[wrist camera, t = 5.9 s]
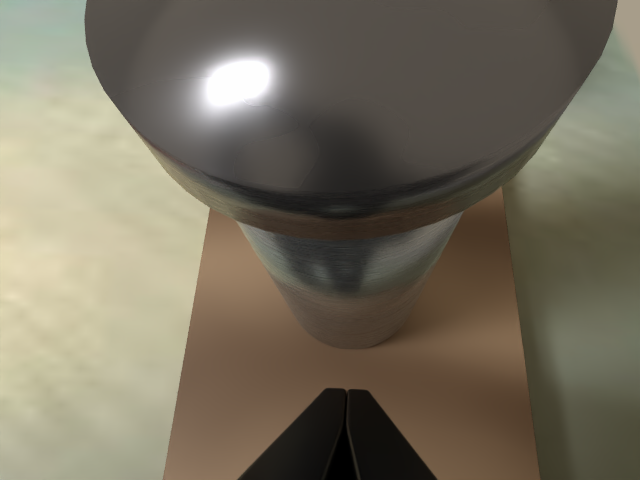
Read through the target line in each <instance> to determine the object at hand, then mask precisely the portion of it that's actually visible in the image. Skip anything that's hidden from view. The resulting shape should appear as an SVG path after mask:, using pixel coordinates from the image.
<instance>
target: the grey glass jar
mask: <svg viewBox="0 0 640 480" xmlns="http://www.w3.org/2000/svg"><path fill="white" fill-rule="evenodd" d="M616 7H617V0H87V3H86V11H85V35H86V45H87V48H88V52H89V56H90V60H91V63H92V67H93V69H94V71H95V73H96V75H97V77H98V79H99V81H100V83H101V85H102V87H103V89H104V91H105V92H106V94H107V95H108V96H109V98H110V99H111V100H112V102H113V103H114V104H115V106H116V107H117V108H118V110H119V111H120V112H121V114H122V115H123V116H124V117H125V119H126V120H127V121H128V123H129V124H130V125H131V126H132V128H133V129H134V130H135V132H136V133H137V134H138V136H139V137H140V138H141V139H142V141H143V142H144V143H145V145H146V146H147V147H148V148H149V150H150V151H151V152H152V154H153V155H154V156H155V158H156V159H157V160H158V161H159V163H160V164H161V165H162V167H163V168H164V169H165V170H166V172H167V173H168V174H169V175H170V176H171V177H172V178H173V179H174V180H175V181H176V182H177V183H178V184H179V185H180V186H181V187H182V188H184V189H185V190H186V191H187V192H188V193H190V194H191V195H192V196H194V197H195V198H197V199H198V200H200V201H201V202H202V203H204V204H205V205H207V206H208V207H210V208H211V209H213V210H215V211H217V212H219V213H221V214H223V215H225V216H227V217H229V218H231V219H233V220H235V221H236V222H237V223H238V225H239V226H240V228H241V230H242V231H243V233H244V235H245V236H246V238H247V240H248V241H249V243H250V244H251V246H252V248H253V249H254V251H255V253H256V254H257V256H258V257H259V259H260V261H261V262H262V264H263V266H264V267H265V269H266V271H267V272H268V274H269V275H270V277H271V279H272V280H273V282H274V284H275V285H276V287H277V289H278V290H279V292H280V293H281V295H282V297H283V298H284V300H285V302H286V303H287V305H288V307H289V308H290V310H291V311H292V313H293V315H294V316H295V318H296V320H297V321H298V323H299V324H300V325H301V326H302V328H303V329H304V330H305V331H306V332H307V333H308V334H310V335H311V336H312V337H314V338H315V339H317V340H318V341H320V342H322V343H324V344H327V345H329V346H332V347H336V348H340V349H349V350H350V349H363V348H368V347H371V346H375V345H377V344H379V343H381V342H384V341H385V340H387V339H388V338H390V337H391V336H393V335H394V334H395V333H396V332H397V331H398V330H399V329H400V328H401V327H402V326H403V324H404V323H405V321H406V320H407V319H408V317H409V315H410V313H411V311H412V309H413V307H414V305H415V303H416V302H417V300H418V298H419V296H420V294H421V292H422V290H423V288H424V286H425V284H426V282H427V281H428V279H429V277H430V275H431V273H432V271H433V269H434V267H435V265H436V263H437V261H438V260H439V258H440V256H441V254H442V252H443V250H444V248H445V246H446V244H447V242H448V240H449V238H450V237H451V235H452V233H453V231H454V229H455V227H456V225H457V223H458V221H459V219H460V217H461V216H462V214H463V212H464V211H465V210H466V209H468V208H470V207H471V206H473V205H475V204H476V203H478V202H480V201H481V200H483V199H485V198H486V197H488V196H490V195H491V194H493V193H494V192H495V191H496V190H498V189H499V188H500V187H501V186H503V185H504V184H505V183H506V182H508V181H509V180H510V179H511V178H512V177H514V176H515V175H516V174H517V173H518V172H519V171H520V170H521V169H522V168H523V166H524V165H525V164H526V163H527V162H528V161H529V160H530V159H531V158H532V157H533V155H534V154H535V153H536V152H537V150H538V149H539V147H540V146H541V144H542V143H543V141H544V140H545V139H546V137H547V136H548V134H549V133H550V131H551V130H552V128H553V127H554V125H555V124H556V122H557V121H558V119H559V118H560V116H561V115H562V114H563V112H564V111H565V109H566V108H567V106H568V105H569V103H570V102H571V100H572V99H573V97H574V96H575V94H576V93H577V92H578V90H579V89H580V87H581V86H582V84H583V83H584V81H585V80H586V78H587V77H588V75H589V74H590V72H591V70H592V69H593V67H594V66H595V64H596V63H597V61H598V60H599V58H600V57H601V55H602V52H603V50H604V48H605V45H606V43H607V40H608V38H609V35H610V33H611V31H612V28H613V23H614V17H615V12H616Z"/></svg>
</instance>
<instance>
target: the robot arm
mask: <svg viewBox="0 0 640 480" xmlns="http://www.w3.org/2000/svg"><path fill="white" fill-rule="evenodd" d="M237 480H438V479H437V478H436V476H435V475H434V474H433V473H432V471H431V470H430V469H429V467H428V466H427V465H426V464H425V462H424V461H423V460H422V458H421V457H420V456H419V455H418V453H417V452H416V451H415V449H414V448H413V447H412V446H411V444H410V443H409V442H408V440H407V439H406V438H405V437H404V435H403V434H402V433H401V432H400V430H399V429H398V428H397V426H396V425H395V424H394V423H393V421H392V420H391V419H390V417H389V416H388V415H387V414H386V412H385V411H384V410H383V408H382V407H381V406H380V405H379V403H378V402H377V401H376V399H375V398H374V397H373V396H372V394H371V393H370V392H369V391H368V390H364V389H349V390H348V391H347V392H346V390H345V389H343V388H326V389H324V390H323V391H322V392H321V393H320V394H319V395H318V396H317V397H316V398H315V399H314V400H313V401H312V403H311V404H310V405H309V406H308V407H307V408H306V409H305V410H304V411H303V412H302V413H301V414H300V415H299V416H298V417H297V418H296V419H295V420H294V421H293V422H292V423H291V424H290V425H289V426H288V427H287V428H286V429H285V430H284V431H283V432H282V433H281V434H280V435H279V436H278V438H277V439H276V440H275V441H274V442H273V443H272V444H271V445H270V446H269V447H268V448H267V449H266V450H265V451H264V452H263V453H262V454H261V455H260V456H259V457H258V458H257V459H256V460H255V461H254V462H253V463H252V464H251V465H250V466H249V467H248V468H247V469H246V470H245V471H244V473H243V474H242V475H241V476H240V477H239V478H238V479H237Z"/></svg>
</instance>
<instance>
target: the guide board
mask: <svg viewBox="0 0 640 480" xmlns="http://www.w3.org/2000/svg"><path fill="white" fill-rule="evenodd" d="M326 388H343V389H345V390H346V392H347V391H348V390H349V389H364V390H368V391H369V392H370V393H371V394H372V396H373V397H374V398H375V399H376V401H377V402H378V403H379V405H380V406H381V407H382V408H383V410H384V411H385V412H386V414H387V415H388V416H389V417H390V419H391V420H392V421H393V423H394V424H395V425H396V426H397V428H398V429H399V430H400V432H401V433H402V434H403V435H404V437H405V438H406V439H407V440H408V442H409V443H410V444H411V446H412V447H413V448H414V449H415V451H416V452H417V453H418V455H419V456H420V457H421V458H422V460H423V461H424V462H425V464H426V465H427V466H428V467H429V469H430V470H431V471H432V473H433V474H434V475H435V476H436V478H437V479H438V480H540V472H539V465H538V457H537V450H536V442H535V435H534V427H533V419H532V412H531V404H530V397H529V389H528V382H527V374H526V366H525V359H524V351H523V344H522V336H521V329H520V321H519V313H518V306H517V298H516V291H515V283H514V276H513V268H512V260H511V253H510V245H509V238H508V230H507V223H506V215H505V207H504V200H503V192H502V186H501V187H500V188H499V189H498V190H496V191H495V192H494V193H493V194H491V195H490V196H488V197H486V198H485V199H483V200H481V201H480V202H478V203H476V204H475V205H473V206H471V207H470V208H468V209H466V210H465V211H464V212H463V214H462V216H461V217H460V219H459V221H458V223H457V225H456V227H455V229H454V231H453V233H452V235H451V237H450V238H449V240H448V242H447V244H446V246H445V248H444V250H443V252H442V254H441V256H440V258H439V260H438V261H437V263H436V265H435V267H434V269H433V271H432V273H431V275H430V277H429V279H428V281H427V282H426V284H425V286H424V288H423V290H422V292H421V294H420V296H419V298H418V300H417V302H416V303H415V305H414V307H413V309H412V311H411V313H410V315H409V317H408V319H407V320H406V321H405V323H404V324H403V326H402V327H401V328H400V329H399V330H398V331H397V332H396V333H395V334H394V335H393V336H391V337H390V338H388V339H387V340H385V341H384V342H381V343H379V344H377V345H375V346H371V347H368V348H363V349H350V350H349V349H340V348H336V347H332V346H329V345H327V344H324V343H322V342H320V341H318V340H317V339H315V338H314V337H312V336H311V335H310V334H308V333H307V332H306V331H305V330H304V329H303V328H302V326H301V325H300V324H299V323H298V321H297V320H296V318H295V316H294V315H293V313H292V311H291V310H290V308H289V307H288V305H287V303H286V302H285V300H284V298H283V297H282V295H281V293H280V292H279V290H278V289H277V287H276V285H275V284H274V282H273V280H272V279H271V277H270V275H269V274H268V272H267V271H266V269H265V267H264V266H263V264H262V262H261V261H260V259H259V257H258V256H257V254H256V253H255V251H254V249H253V248H252V246H251V244H250V243H249V241H248V240H247V238H246V236H245V235H244V233H243V231H242V230H241V228H240V226H239V225H238V223H237V222H236V221H235V220H233V219H231V218H229V217H227V216H225V215H223V214H221V213H219V212H217V211H215V210H213V209H211V208H210V211H209V217H208V223H207V228H206V234H205V240H204V246H203V252H202V257H201V263H200V269H199V275H198V280H197V286H196V292H195V298H194V303H193V309H192V315H191V321H190V326H189V332H188V338H187V344H186V349H185V355H184V361H183V367H182V372H181V378H180V384H179V390H178V395H177V401H176V407H175V413H174V418H173V424H172V430H171V436H170V441H169V447H168V453H167V459H166V464H165V470H164V476H163V480H237V479H238V478H239V477H240V476H241V475H242V474H243V473H244V471H245V470H246V469H247V468H248V467H249V466H250V465H251V464H252V463H253V462H254V461H255V460H256V459H257V458H258V457H259V456H260V455H261V454H262V453H263V452H264V451H265V450H266V449H267V448H268V447H269V446H270V445H271V444H272V443H273V442H274V441H275V440H276V439H277V438H278V436H279V435H280V434H281V433H282V432H283V431H284V430H285V429H286V428H287V427H288V426H289V425H290V424H291V423H292V422H293V421H294V420H295V419H296V418H297V417H298V416H299V415H300V414H301V413H302V412H303V411H304V410H305V409H306V408H307V407H308V406H309V405H310V404H311V403H312V401H313V400H314V399H315V398H316V397H317V396H318V395H319V394H320V393H321V392H322V391H323V390H324V389H326Z"/></svg>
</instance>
